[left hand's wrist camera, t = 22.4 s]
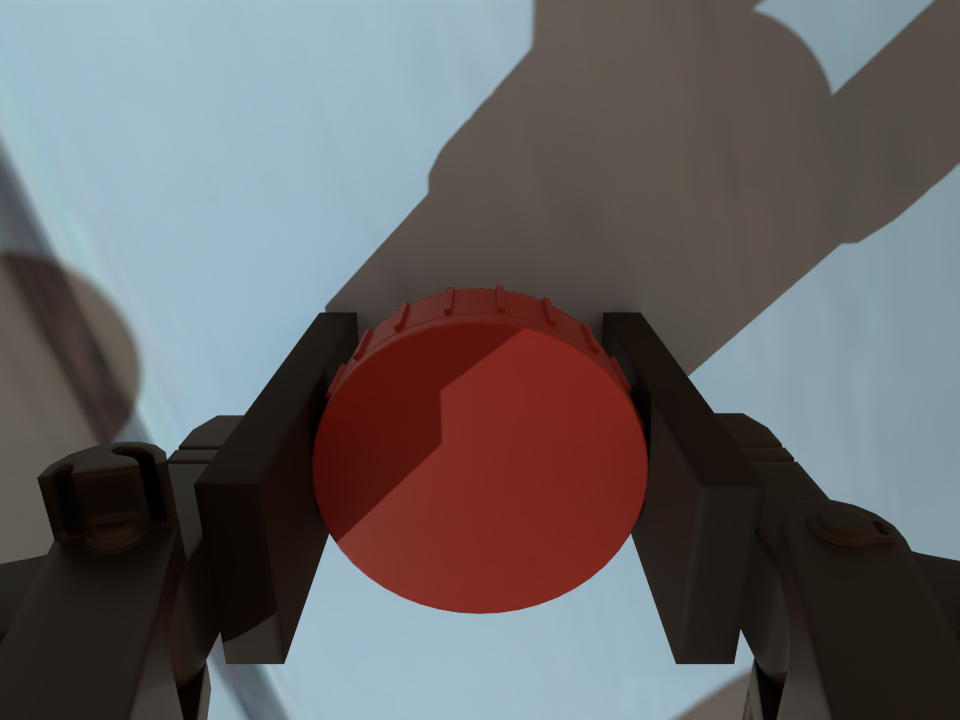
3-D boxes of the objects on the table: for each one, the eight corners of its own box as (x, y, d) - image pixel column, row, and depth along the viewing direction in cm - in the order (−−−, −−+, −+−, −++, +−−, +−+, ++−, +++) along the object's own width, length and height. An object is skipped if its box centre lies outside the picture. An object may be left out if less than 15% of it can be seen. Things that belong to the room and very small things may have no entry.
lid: (600, 247, 11) (621, 273, 9) (653, 519, 12) (678, 582, 11) (286, 327, 11) (253, 366, 9) (383, 577, 13) (369, 645, 11)
